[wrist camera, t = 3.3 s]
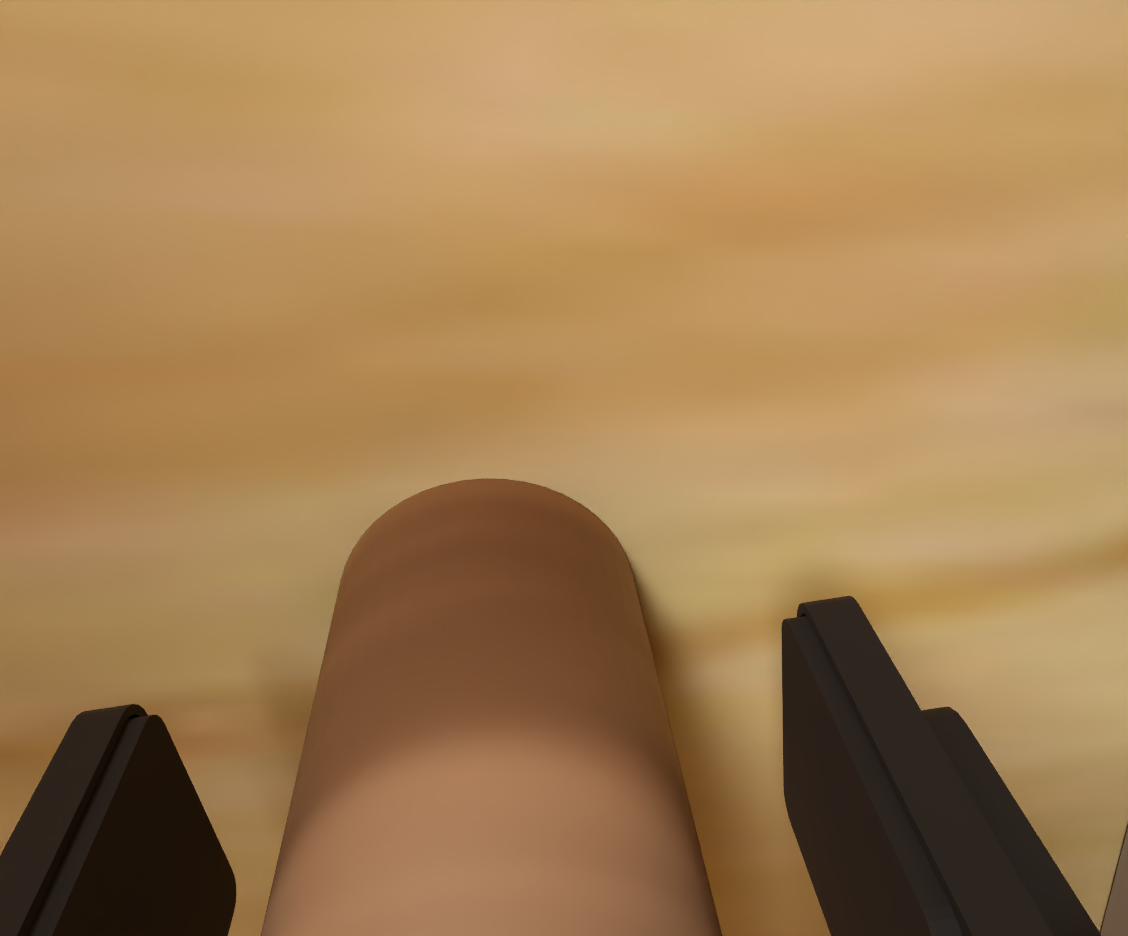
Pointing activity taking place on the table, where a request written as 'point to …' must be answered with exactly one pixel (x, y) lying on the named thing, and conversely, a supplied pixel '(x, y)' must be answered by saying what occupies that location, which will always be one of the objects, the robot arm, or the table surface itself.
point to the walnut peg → (489, 737)
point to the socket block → (1118, 899)
